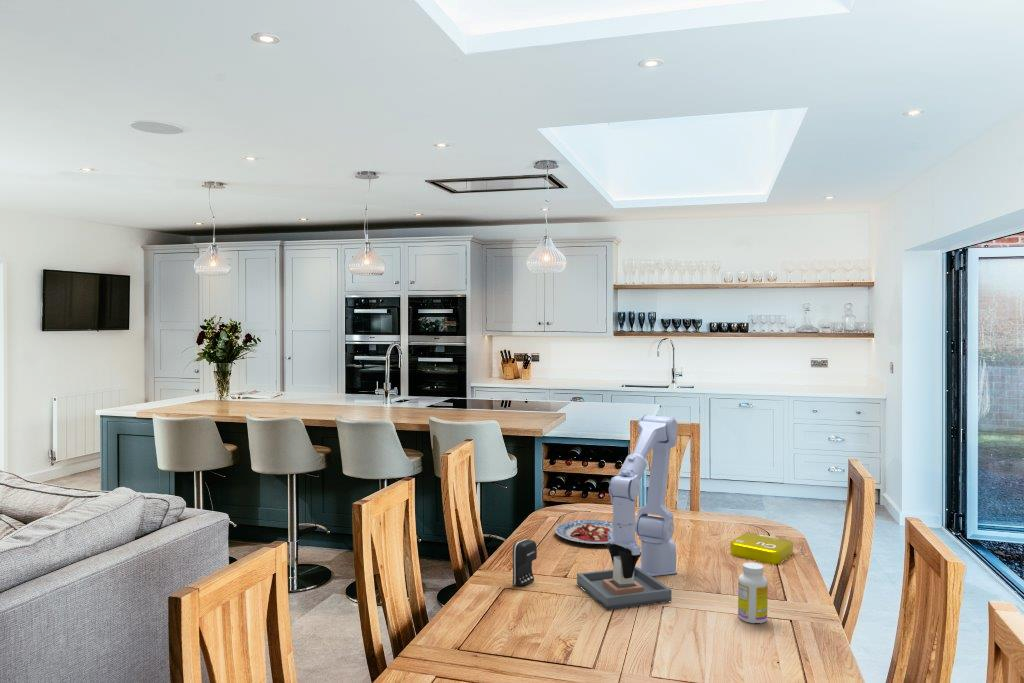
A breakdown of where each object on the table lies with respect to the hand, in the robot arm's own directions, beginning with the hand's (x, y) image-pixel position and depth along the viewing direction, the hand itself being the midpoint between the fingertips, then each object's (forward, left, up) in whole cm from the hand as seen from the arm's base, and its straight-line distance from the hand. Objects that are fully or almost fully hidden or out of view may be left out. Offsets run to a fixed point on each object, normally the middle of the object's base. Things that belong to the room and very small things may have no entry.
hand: (623, 574), depth 186 cm
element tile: (-56, -16, -6) cm, 58 cm away
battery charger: (+22, -14, -5) cm, 27 cm away
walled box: (0, 0, -5) cm, 5 cm away
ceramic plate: (-14, -47, -5) cm, 49 cm away
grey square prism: (0, 0, -4) cm, 4 cm away
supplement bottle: (-22, +24, -5) cm, 33 cm away
